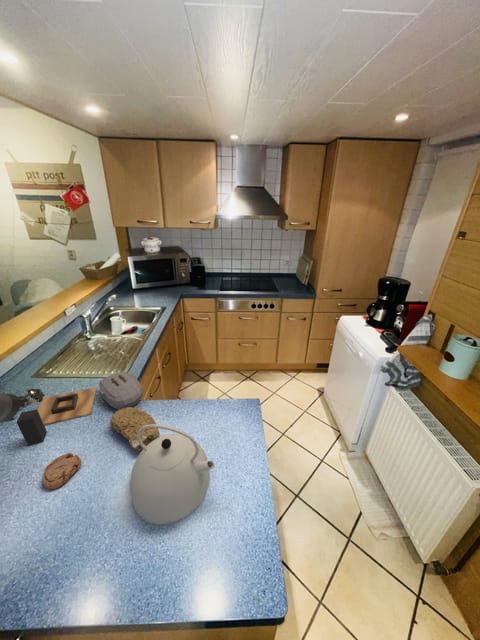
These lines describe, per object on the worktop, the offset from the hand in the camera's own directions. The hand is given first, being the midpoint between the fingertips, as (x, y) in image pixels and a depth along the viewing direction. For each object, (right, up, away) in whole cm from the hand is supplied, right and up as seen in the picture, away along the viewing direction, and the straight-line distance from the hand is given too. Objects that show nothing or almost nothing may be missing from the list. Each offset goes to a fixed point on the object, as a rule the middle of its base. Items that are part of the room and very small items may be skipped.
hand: (26, 408), depth 80 cm
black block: (-2, -13, +8) cm, 16 cm away
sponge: (+31, -13, +11) cm, 35 cm away
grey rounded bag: (+18, -5, +28) cm, 34 cm away
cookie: (+14, -19, -3) cm, 24 cm away
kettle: (+49, -20, -5) cm, 54 cm away
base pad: (-2, -7, +21) cm, 23 cm away
